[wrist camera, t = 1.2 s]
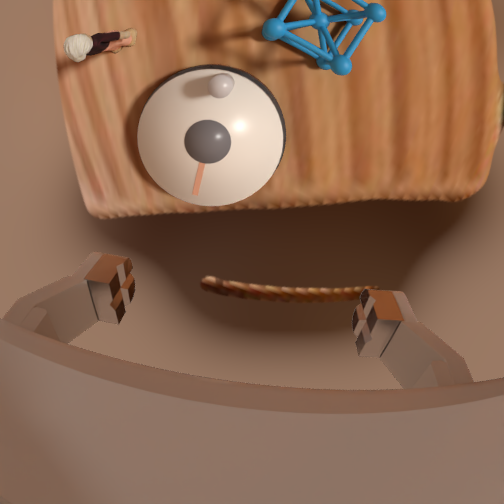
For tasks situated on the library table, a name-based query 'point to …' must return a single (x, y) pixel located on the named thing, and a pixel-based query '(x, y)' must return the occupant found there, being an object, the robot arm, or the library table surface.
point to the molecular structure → (325, 31)
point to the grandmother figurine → (98, 43)
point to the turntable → (210, 137)
